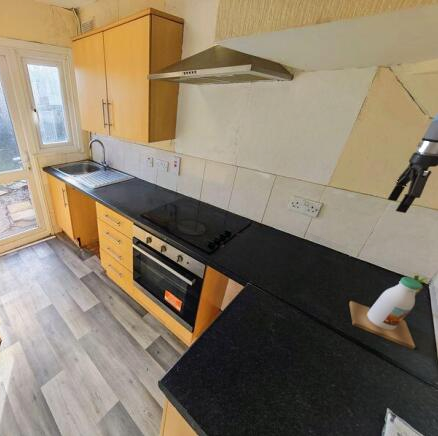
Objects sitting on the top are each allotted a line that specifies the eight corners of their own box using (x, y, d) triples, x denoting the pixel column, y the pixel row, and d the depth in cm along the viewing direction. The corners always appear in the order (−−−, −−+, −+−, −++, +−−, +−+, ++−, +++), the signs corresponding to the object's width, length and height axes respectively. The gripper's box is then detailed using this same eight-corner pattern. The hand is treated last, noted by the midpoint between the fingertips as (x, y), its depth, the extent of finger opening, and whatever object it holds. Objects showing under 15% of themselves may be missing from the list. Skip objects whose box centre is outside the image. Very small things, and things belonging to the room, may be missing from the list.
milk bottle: (367, 323, 82) (399, 283, 72) (364, 309, 88) (393, 269, 78) (396, 335, 78) (433, 294, 69) (391, 319, 84) (425, 279, 74)
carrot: (406, 302, 93) (429, 275, 86) (407, 309, 90) (431, 282, 83) (390, 295, 96) (411, 268, 89) (390, 302, 93) (412, 275, 85)
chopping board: (402, 323, 84) (404, 320, 84) (412, 349, 75) (415, 346, 75) (349, 303, 92) (350, 300, 91) (352, 325, 83) (354, 322, 82)
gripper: (404, 147, 94) (377, 194, 104) (426, 158, 75) (391, 214, 86) (430, 149, 90) (399, 198, 101) (459, 162, 72) (418, 220, 82)
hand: (395, 205), depth 93 cm, fingers open, 13 cm apart
